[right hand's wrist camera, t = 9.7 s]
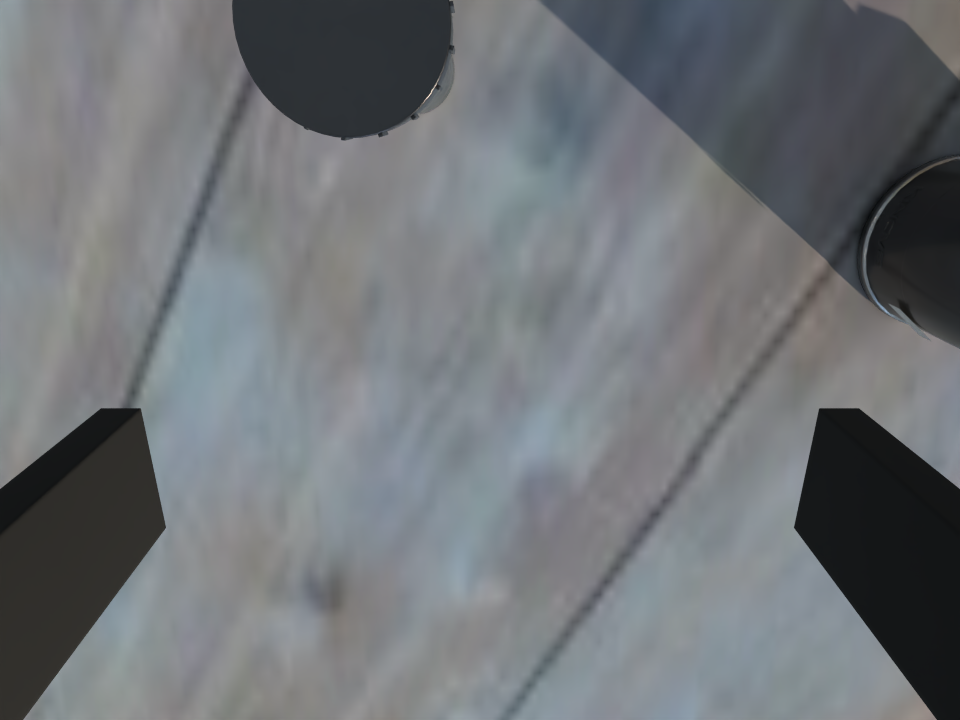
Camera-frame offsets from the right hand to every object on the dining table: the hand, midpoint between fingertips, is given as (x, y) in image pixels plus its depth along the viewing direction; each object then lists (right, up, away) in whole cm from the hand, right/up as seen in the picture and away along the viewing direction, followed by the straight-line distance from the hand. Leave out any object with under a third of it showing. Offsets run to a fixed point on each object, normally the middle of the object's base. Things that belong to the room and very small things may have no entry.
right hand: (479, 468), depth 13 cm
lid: (-3, +10, +2) cm, 11 cm away
